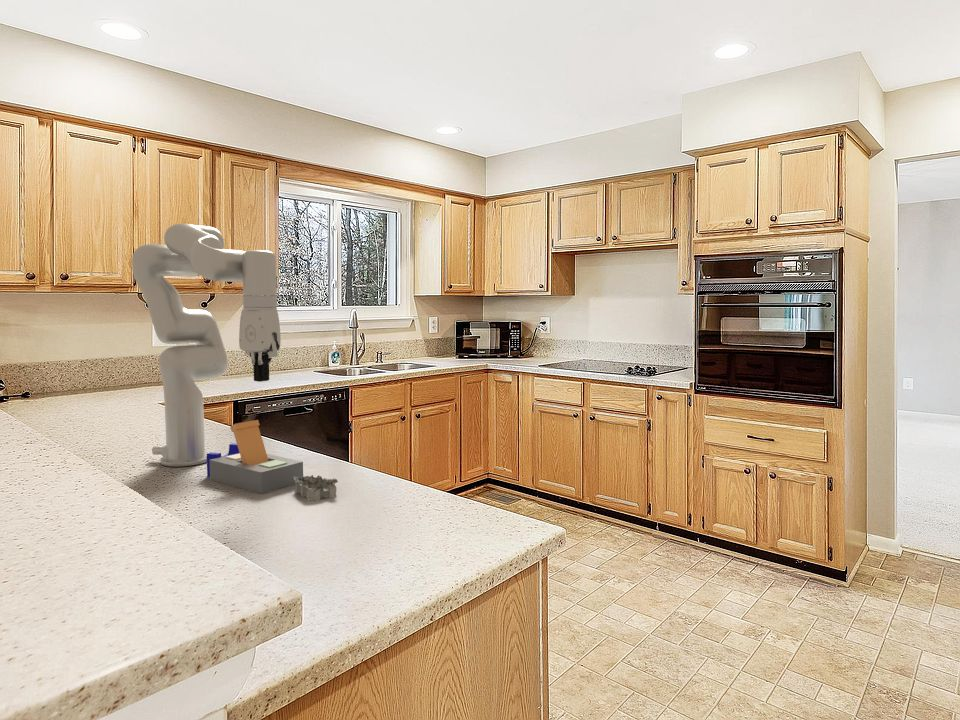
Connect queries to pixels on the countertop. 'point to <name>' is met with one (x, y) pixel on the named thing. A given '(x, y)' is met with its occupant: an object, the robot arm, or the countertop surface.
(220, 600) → the countertop surface
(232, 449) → the cable clip
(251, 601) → the countertop surface
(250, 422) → the breaker lever
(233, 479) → the breaker box
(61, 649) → the countertop surface
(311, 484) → the egg carton
